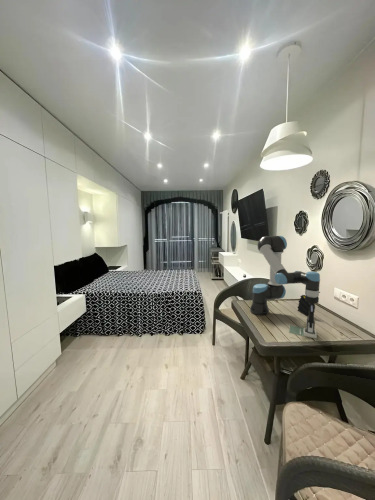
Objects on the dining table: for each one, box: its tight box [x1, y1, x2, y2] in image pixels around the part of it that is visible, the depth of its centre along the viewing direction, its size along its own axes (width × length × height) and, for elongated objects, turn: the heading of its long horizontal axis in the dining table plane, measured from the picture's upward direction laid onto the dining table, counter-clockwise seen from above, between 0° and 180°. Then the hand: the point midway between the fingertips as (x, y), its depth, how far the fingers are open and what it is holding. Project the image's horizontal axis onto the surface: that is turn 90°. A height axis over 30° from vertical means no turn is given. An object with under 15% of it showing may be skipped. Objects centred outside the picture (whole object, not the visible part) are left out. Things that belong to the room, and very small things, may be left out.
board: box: [288, 324, 318, 340], centre depth 136 cm, size 16×12×3 cm
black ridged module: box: [297, 294, 309, 317], centre depth 166 cm, size 4×13×15 cm, turn 10°
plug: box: [305, 316, 316, 333], centre depth 131 cm, size 4×4×8 cm
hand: (310, 330), depth 131 cm, fingers closed on plug, 4 cm apart
